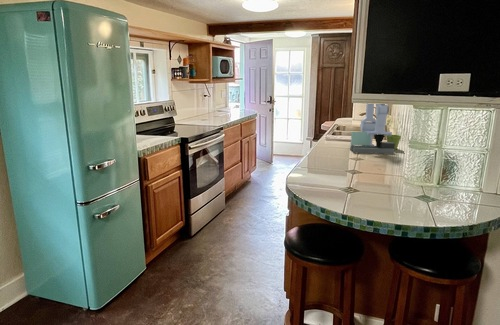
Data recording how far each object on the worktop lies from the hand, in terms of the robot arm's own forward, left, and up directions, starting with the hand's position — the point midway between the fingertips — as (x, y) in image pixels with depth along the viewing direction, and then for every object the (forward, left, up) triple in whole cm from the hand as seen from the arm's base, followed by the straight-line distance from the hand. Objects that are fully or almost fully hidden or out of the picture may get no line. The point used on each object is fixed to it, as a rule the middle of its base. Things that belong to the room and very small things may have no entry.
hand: (377, 146), depth 212 cm
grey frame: (-1, -4, -3) cm, 5 cm away
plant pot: (-11, +14, -4) cm, 18 cm away
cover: (-5, -10, +4) cm, 11 cm away
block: (0, +5, -3) cm, 6 cm away
